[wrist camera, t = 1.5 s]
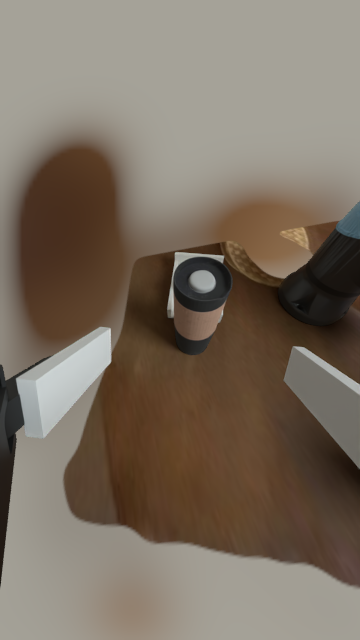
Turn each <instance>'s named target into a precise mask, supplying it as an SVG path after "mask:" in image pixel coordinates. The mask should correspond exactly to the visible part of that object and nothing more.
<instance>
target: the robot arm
mask: <svg viewBox="0 0 360 640" xmlns="http://www.w3.org/2000/svg"><path fill="white" fill-rule="evenodd" d="M359 295H360V202H358V203H357V204H356V205H355V206H354V207H353V208H352V209H351V211H350V212H349V213H348V214H347V215H346V216H345V217H344V218H343V219H342V220H341V221H339V222H338V224H337V226H336V228H335V229H334V231H333V232H332V233H331V234H330V236H329V237H328V238H327V239H326V240H325V242H324V243H323V244H322V245H321V247H320V248H319V249H318V250H317V252H316V253H315V254H314V255H313V256H312V258H311V259H310V260H309V261H308V263H307V264H305V265H304V266H302V267H301V268H300V269H298V270H297V271H296V272H293V273H291V274H290V275H288V276H287V277H286V278H285V279H284V281H283V282H282V283H281V285H280V287H279V290H278V296H279V300H280V302H281V304H282V306H283V307H284V308H285V310H286V311H287V312H288V313H289V314H291V315H292V316H293V317H295V318H296V319H298V320H300V321H302V322H304V323H307V324H310V325H316V326H326V325H330V324H332V323H334V322H336V321H337V320H339V319H341V318H342V317H343V316H344V315H345V314H346V313H347V311H348V309H349V307H350V306H351V305H352V304H353V302H354V301H355V300H356V298H357V297H358V296H359ZM110 363H111V329H110V328H106V327H99V328H98V329H96V330H94V331H93V332H91V333H90V334H88V335H86V336H85V337H83V338H81V339H80V340H78V341H76V342H75V343H73V344H72V345H70V346H68V347H67V348H65V349H63V350H62V351H60V352H58V353H57V354H55V355H52V356H50V357H47V358H44V359H42V360H40V361H39V362H37V363H35V365H32V366H30V367H29V368H28V369H25V370H24V371H22V372H20V373H19V374H17V375H15V376H13V377H12V378H10V379H8V380H6V381H5V377H4V371H3V367H2V365H0V585H1V576H2V567H3V558H4V548H5V540H6V531H7V522H8V513H9V503H10V494H11V484H12V476H13V466H14V457H15V449H16V440H17V439H16V434H15V433H16V432H17V431H18V430H19V429H20V428H21V427H22V426H23V425H24V428H25V434H26V436H28V437H36V438H45V436H46V435H47V434H48V433H49V432H50V431H51V430H52V428H53V427H54V426H55V425H56V424H57V423H58V422H59V421H60V419H61V418H62V417H63V416H64V415H65V414H66V413H67V411H68V410H69V409H70V408H71V407H72V406H73V405H74V404H75V402H76V401H77V400H78V399H79V398H80V397H81V396H82V394H83V393H84V392H85V391H86V390H87V389H88V388H89V386H90V385H91V384H92V383H93V382H94V381H95V380H96V379H97V377H98V376H99V375H100V374H101V373H102V372H103V371H104V369H105V368H106V367H107V366H108V365H109V364H110ZM284 381H285V382H286V384H287V385H288V386H289V387H290V388H291V389H292V391H293V392H294V393H295V394H296V395H297V396H298V398H299V399H300V400H301V401H302V402H303V404H304V405H305V406H306V407H307V408H308V409H309V411H310V412H311V413H312V414H313V415H314V416H315V418H316V419H317V420H318V421H319V422H320V423H321V425H322V426H323V427H324V428H325V429H326V430H327V432H328V433H329V434H330V435H331V436H332V437H333V439H334V440H335V441H336V442H337V443H338V444H339V446H340V447H341V448H342V449H343V450H344V451H345V453H346V454H347V455H348V456H349V457H350V458H351V460H352V461H353V462H354V463H355V464H356V465H357V467H358V468H359V469H360V385H359V384H358V383H356V382H355V381H353V380H352V379H350V378H349V377H347V376H346V375H344V374H343V373H341V372H340V371H338V370H337V369H335V368H334V367H332V366H331V365H329V364H328V363H326V362H325V361H323V360H322V359H320V358H319V357H317V356H316V355H314V354H313V353H311V352H310V351H308V350H307V349H305V348H304V347H294V346H293V348H292V352H291V355H290V359H289V363H288V366H287V370H286V374H285V378H284Z"/></svg>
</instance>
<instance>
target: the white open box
mask: <svg viewBox="0 0 360 640" xmlns="http://www.w3.org/2000/svg"><path fill="white" fill-rule="evenodd" d="M193 257H209V258H213V259H216V260H218V261H220V262H221V263H223V259H224V256H220V255H207V254H194V253H181V252H175V263H174V270H173V276H174V272H175V270H176V268H177V267H178V265H179V264H180V263H182V262H183V261H185V260H187V259H189V258H193ZM173 276H172V282H171V288H170V294H169V300H168V307H167V314H168V318H174V292H173ZM222 316H223V311H222V313H221V316H220V319H219V321H218V322H219V323H220V321H221V318H222Z"/></svg>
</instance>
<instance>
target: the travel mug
mask: <svg viewBox="0 0 360 640" xmlns="http://www.w3.org/2000/svg"><path fill="white" fill-rule="evenodd" d="M232 282H233V281H232V275H231V273H230V271H229V269H228V268H227V267H226V266H225V265H224V264H223V263H221V262H220V261H218V260H216V259H213V258H209V257H193V258H189V259H187V260H185V261H183V262H182V263H180V264H179V265H178V267H177V268H176V270H175V272H174V276H173V292H174V326H175V335H176V342H177V345H178V347H179V349H180V350H181V351H182V352H184V353H186V354H189V355H197V354H200V353H202V352H203V351H204V350H205V349H206V347H207V346H208V344H209V342H210V340H211V337H212V335H213V333H214V331H215V329H216V326H217V324H218V321H219V319H220V316H221V313H222V311H223V308H224V305H225V303H226V300H227V297H228V295H229V292H230V290H231V288H232Z"/></svg>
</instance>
